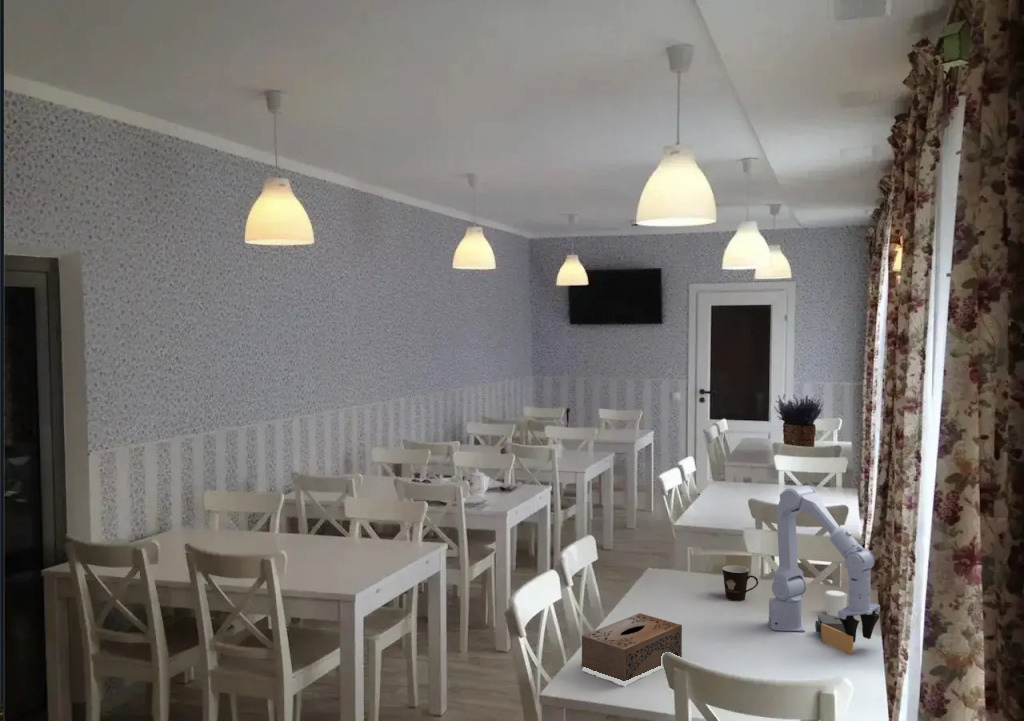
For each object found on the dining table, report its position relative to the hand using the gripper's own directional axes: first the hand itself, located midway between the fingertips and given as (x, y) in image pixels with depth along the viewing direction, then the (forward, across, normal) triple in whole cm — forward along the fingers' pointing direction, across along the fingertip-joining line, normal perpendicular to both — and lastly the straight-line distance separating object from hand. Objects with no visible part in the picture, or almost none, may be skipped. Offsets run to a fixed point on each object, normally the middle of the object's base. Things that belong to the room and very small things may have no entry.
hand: (859, 639), depth 248 cm
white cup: (+3, +18, +25) cm, 31 cm away
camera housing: (+3, +2, +11) cm, 12 cm away
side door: (+3, -4, +4) cm, 7 cm away
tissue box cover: (+3, -64, +20) cm, 67 cm away
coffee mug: (+3, 0, +51) cm, 51 cm away
